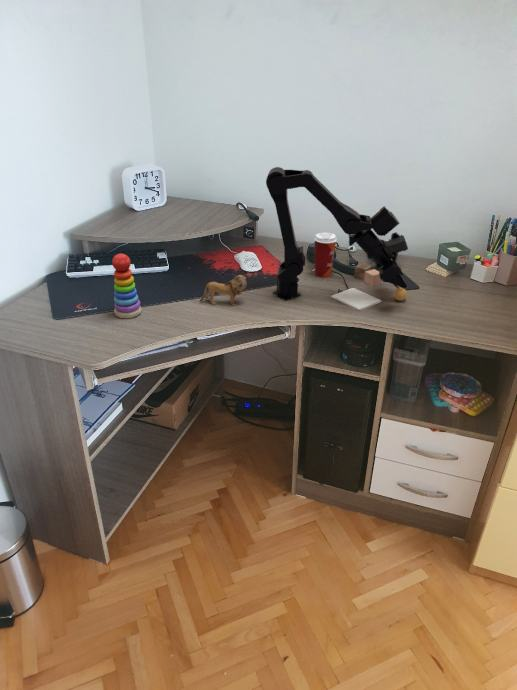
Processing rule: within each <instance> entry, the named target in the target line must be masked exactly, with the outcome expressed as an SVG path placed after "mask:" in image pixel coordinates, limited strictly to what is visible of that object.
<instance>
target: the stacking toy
mask: <svg viewBox="0 0 517 690" xmlns="http://www.w3.org/2000/svg"><path fill="white" fill-rule="evenodd" d="M111 261H112V262H111V264H112V267H113V269H114V272H113V276H114V281H113V282H114V284H113V288H114V291H113V294H114V296H113V297H114V298H113V301H114V309H113V312H114V314H115V316H116V317H118V318H121V319H132V318H135V317H137V316H139V315H140V314H141V312H142V306H141V301H140V299H139V295H138V294H137V293H138V290H137V289H136V283H135V277H134V276H133V275H132V274H133V273H132V272H133V271H132V269H130V267H131V259H130V257H129V256H128V255H126V254H124V253H117V254H115V255H114V256H113V258H112V260H111Z"/></svg>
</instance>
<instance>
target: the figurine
mask: <svg viewBox="0 0 517 690" xmlns="http://www.w3.org/2000/svg"><path fill="white" fill-rule="evenodd" d="M398 264H399V263H398ZM399 265H400V267H401V264H399ZM401 268H402V267H401ZM407 291H408V290H405V289H403V288H401V287H399V286H398V288H396V289H395V290H394V292H393V295H394V296H393V297H394V299H395V300H396V301H399V302H402V301H404V300H406V298H407V297H408V292H407Z"/></svg>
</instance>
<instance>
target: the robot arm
mask: <svg viewBox="0 0 517 690" xmlns="http://www.w3.org/2000/svg"><path fill="white" fill-rule="evenodd" d="M265 184H266V188H267V190H268V193H269V195H270V197H271V199H272V201H273V203H274V206H275V209H276V210H275V211H276V215H277V218H278V224H279V230H280V233H281V237H282V242H283V243H282V245H283V247H284V252H283V253H284V254H283V256H284V259H283V260H284V261H283V262H281V263H280V264H279V265H278V271H277V275H276V290H275V291H273V292H272V293H273V295H274V296H275V297H276V296H277V297H278V298H281V299H282V300H284V301H288V300H291V299H294V298H296V297H297V298H298V297H300V296H301V293H300V292H299V290H298V289H299V283H298V281H299V280H298V278H297V277H298V276H300V275H301V274H302V273H303V271H304V266H306V256H305V254H304V246H303V245H302V246H299V244H298V243H297V241H296V240H297V239H296V234H295V228H294V225H293V219H292V215H291V210H290V204H289V200H288V190H291V189H292V190H293V189H297V188H305V189H306V190H307V191H308V192H309V193H310V194H311V196H313V197H314V198H315V199H316V200H317V201H318V202H319V203H320V204H321V205H322V206H323V207H324V208H326V210H327V211H329V213H331V215H332V216H333V218H334V219H335V221H336V222H337V224H338V225H339V227H340V228H341V230H342V231H343V232H344V233H345V234H347V236H348V246H349V247H352V246H353V245H354V244H355V243H356V244H357V245H358V246H359V248H360V249H362V251H363V252H364V253H365V254H366V257H367V258H368V259H369V260H370V259H371V261H372V262H373V263H374V265H375V268H377V269H379V268H380V269H379V270H378V271H379V276H380V279H381V282H383V283H387V284H388V283H389V284H392V285H393V284H394V285H397V286H399V287H402V288H406V287H407V284H406V283H405V281H404V279H403V278H402V275H403V273H404V272H403V271H402V267H400V265H401V264H400V265H399V262H397V259H396V258H397V254H398V253H402V252H406V251H407V250H408V249H409V248H408V243H407V241H406V238H405V236H404V235H403V234H399V233H398V232H396V231H395V232H392V233H391V236H390V239H388V241H385V240H384V239H380V237H379V236H381V237H386V235H387V234H389V233H390V232H391V231H393V229H395V228H396V227H397V226H399V225H400V223H401V222H400V221H399V220H398V218H397V217H396V216H395V215H394V213H393V212H392V211H390V210H389V209H388V208H387V207H386V206H385V205H384V206H382V207H381V208H380V209H379V210H378V211H377V212H375V214H374V215H373V216H370V215H367V214H360V213H359V212H358V211H357V210H355V209H354V208H352V207H350V206H349V205H346V203H343V202H342V201H340V199H338V197H336V196H335V195H334V194H333V193H332V192H331V191H330V190H329V189H328V188H327V187H326V186H325V185H324V184H323V183H322V181H319V179H318V178H317V177H316V176H315V175H314V174H313V172H312V171H310V170H308V169H305V170H298V169H284V168H282V167H279V166H275V167H273V168H271V169H270V170H269V172H268V174H267V176H266V181H265ZM394 285H393V286H394Z"/></svg>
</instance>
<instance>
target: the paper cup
mask: <svg viewBox="0 0 517 690" xmlns="http://www.w3.org/2000/svg"><path fill="white" fill-rule="evenodd" d="M313 239H314V275H315V276H316V277H317V278H323V279H324V278H329V277H331V276H332V271H333V265H334V257H335V251H336V250H335V249H336V243H337V241H338V238H337V236H336V234H334V233H332V232H324V231H323V232H318V233H316V234H315V236H314V238H313Z"/></svg>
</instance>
